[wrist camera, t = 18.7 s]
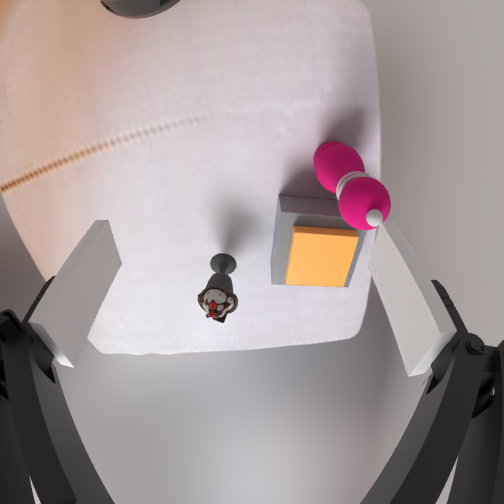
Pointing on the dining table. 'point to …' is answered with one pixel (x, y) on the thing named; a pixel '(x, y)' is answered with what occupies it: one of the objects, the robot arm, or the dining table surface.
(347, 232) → the button
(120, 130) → the dining table surface
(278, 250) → the breaker box
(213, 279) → the sundae
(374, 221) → the pepper mill
